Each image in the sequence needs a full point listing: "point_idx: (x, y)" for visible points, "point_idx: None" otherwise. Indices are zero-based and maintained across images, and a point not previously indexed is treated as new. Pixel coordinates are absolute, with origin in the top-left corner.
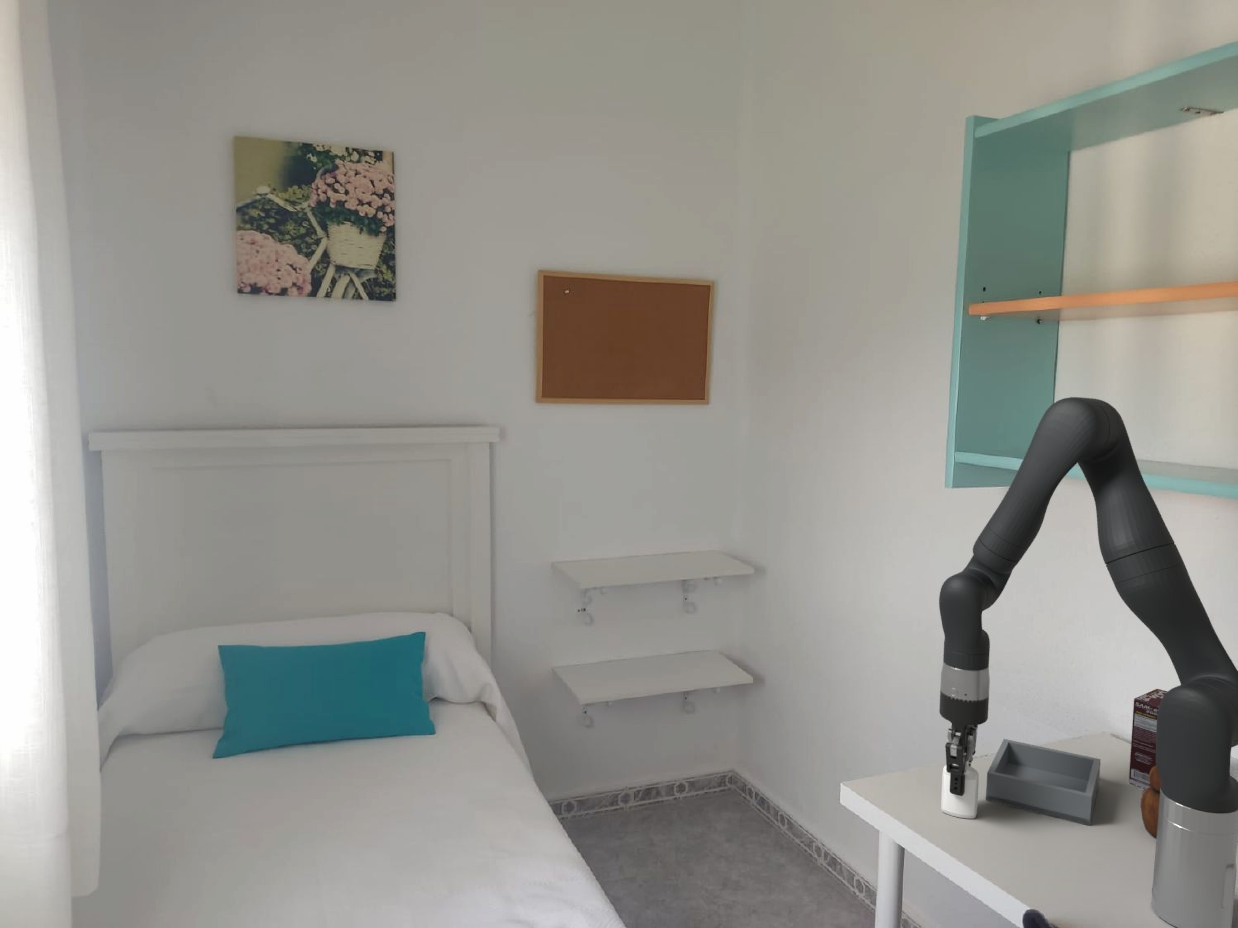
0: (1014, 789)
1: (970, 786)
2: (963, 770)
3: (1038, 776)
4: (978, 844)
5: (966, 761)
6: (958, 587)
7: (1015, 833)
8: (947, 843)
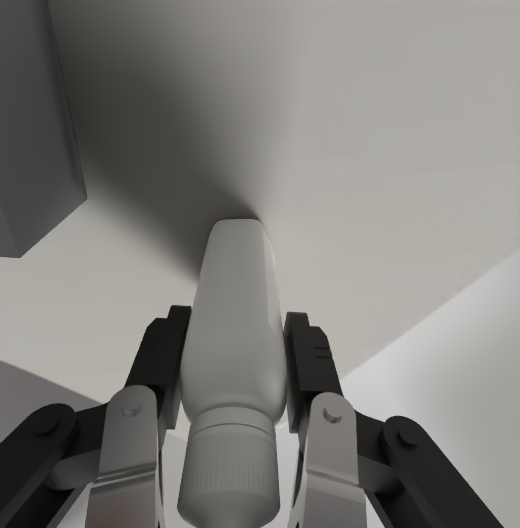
0: (12, 93)
1: (277, 314)
2: (396, 441)
3: None
4: (434, 188)
5: (327, 472)
6: None
7: (308, 57)
8: (445, 269)
